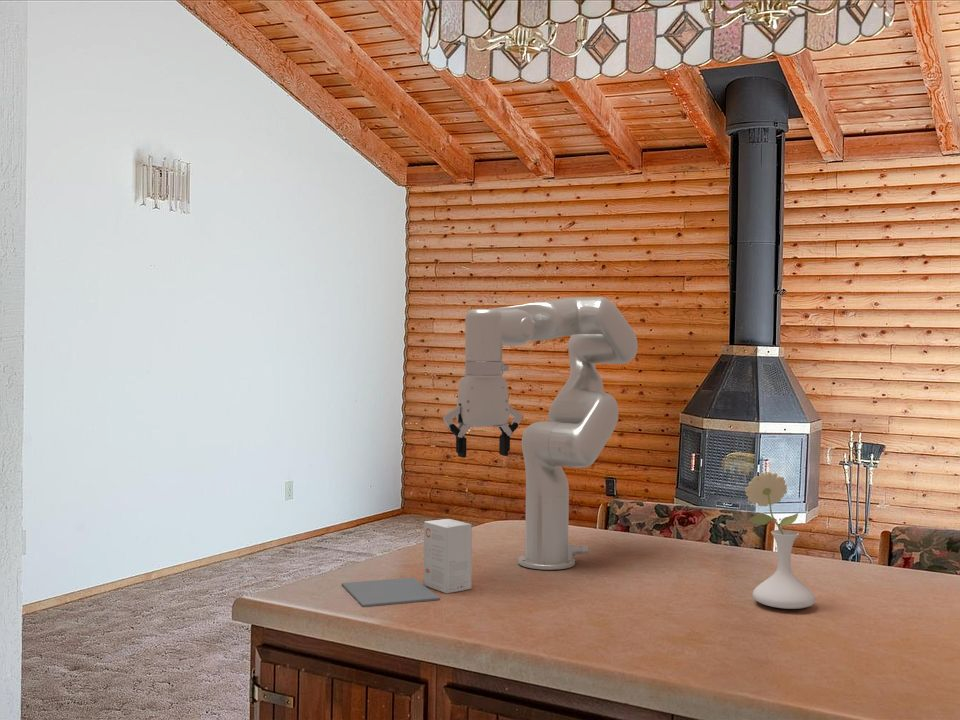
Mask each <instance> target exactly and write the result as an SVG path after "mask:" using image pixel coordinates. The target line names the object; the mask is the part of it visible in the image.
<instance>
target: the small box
mask: <svg viewBox="0 0 960 720" xmlns="http://www.w3.org/2000/svg"><path fill="white" fill-rule="evenodd" d="M423 527H424V529H423V585H424V586H425V587H427V588H430V589H433V590H435V591H439V592H440V593H441V592H442V593H444V594H452V593H456V592H461V591H466V590H467V591H468V590H471V589H472V580H473V579H472V567H473V566H472V564H473V563H472V561H473V560H472V559H473V558H472V556H473V555H472V554H473V553H472V550H473V549H472V548H473V547H472V543H473V542H472V534H473V533H472V531H473V529H472V528H473V525H472V524H471V523H467V522H463V521H460V520H455V519H452V518H443V519H436V520H435V519H434V520H426V521H424V524H423Z"/></svg>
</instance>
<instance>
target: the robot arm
mask: <svg viewBox="0 0 960 720" xmlns="http://www.w3.org/2000/svg"><path fill="white" fill-rule="evenodd" d="M464 326H465V328H464V330H465V332H464V334H465V335H464V337H465V338H464V340H465V341H464V343H465V344H464V345H465V346H464V348H465V349H464V351H465V353H464V354H465V355H464V360H465V362H464V363H465V364H464V376H462V377H460V379H459V380H460V381H459V386H458V392H457V399H456V407H455V408H453V409H451V410H450V411H448V412H447V413H445V414H444V415H443V416H442V420H443V421H444V423H445V425H446V427H447V428H448V430H449V432H451V433H452V434H453V436H454V437H455V452H456V453H457V456H458V457H460V458H464V459H465V458H466V457H467V437H465V435H466V434H467V432H468V430H469V429H470V427H473V428H474V427H475V428H477V427H479V428H481V427H482V428H483V427H484V428H485V427H497V428H498V429H499V431H500V433H501V434H499V441H498V442H499V445H498V447H499V448H498V453H499V455H500V456H503V457H508V456H509V452H510V451H511V437H512V436H513V433H514V432H515V431H516V430H517V429H518V428H519V424H520V423H521V421H522V420H523V418H524V415H523V413H520V412H519V411H518V410H516V409H514V408H513V407H512V406H510V404H509V402H510V401H509V392H508V386H507V381H506V377H504V376H503V375H504V372H509V364H505V363H504V361H503V346H510V347H511V346H516V347H517V346H522V345H525V344H526V343H528V342H530V341H534V342H535V341H536V342H537V341H539V342H540V341H549V340H554V339H559V338H564V337H569V336H570V338H569V340H568V345H567V348H568V349H567V350H568V359H569V369H570V370H569V371H570V374H569V377H568V379H567V380H566V382H565V383H564V385H563V386H562V388H561V389H560V390H559V392H558V393H557V395H556V396H555V398H554V400H553V402H552V403H551V404H550V407H549V410H548V415H547V417H548V420H549V421H548V420H545V421H544V420H543V421H536V422H533V423H531V424H529V426H527V427H526V428H525V430H524V431H523V433H522V435H521V436H522V437H521V448H522V449H521V450H522V454H523V461H524V469H525V470H524V471H525V533H524V534H525V536H524V540H525V541H524V542H525V543H524V544H525V547H524V549H525V550H524V552H525V553H524V554H522V555H520V556H518V557H517V560H518V561H517V563H518V564H519V566H522V567H524V568H527V569H528V568H529V569H534V570H543V571H544V570H545V571H546V570H547V571H552V570H553V571H556V570H557V571H558V570H566V569H569V568H572V567H574V566H575V565H576V559H575V558H574V557H575V556H576V555H587V554H588V553H589V547H588V545H587V544H583V545H580V544H579V545H578V544H572V543H571V542H569V509H570V503H569V502H570V501H569V500H570V487H569V485H570V484H569V482H568V481H569V480H568V478H567V475H566V473H565V471H564V469H563V468H562V467H566V468H579V469H580V468H582V469H583V468H588V467H590V466H591V465H592V464H594V463H595V461H596V460H597V458H598V457H599V456H600V454H601V452H602V451H603V449H604V448H605V446H606V444H607V442H609V439H610V438H611V436H612V434H613V433H614V431H615V429H616V427H617V424H618V420H619V406H618V402H617V400H616V398H615V397H614V396H613V395H612V394H610V393H609V392H604V383H603V379H602V377H601V375H600V373H599V372H598V370H597V368H596V364H609V365H622V364H624V365H625V364H628V363H630V362H632V361H633V360H634V359H635V358H636V355H637V353H638V350H639V349H638V348H639V347H638V345H639V343H638V339H637V336H636V334H635V332H634V330H633V327H631V325H630V324H629V322H628V321H627V319H626V318H625V317H624V315H623V314H622V312H621V311H620V310H619V308H618V307H617V305H615V303H614V302H613V301H611V300H610V299H608V298H607V297H604V296H590V297H587V296H586V297H585V296H584V297H567V298H560V299H552V300H546V301H545V300H544V301H537V302H531V303H524V304H518V305H511V306H510V305H509V306H501V307H493V308H477V309H476V308H473V309H470V310H468V311H467V312H466V315H465V323H464ZM510 416H512V417H513V419H512V420H511V422H510V423H509V421H510ZM454 419H456V423H457V424H458V426H457V425H456V424H455V422H454V421H453V420H454Z"/></svg>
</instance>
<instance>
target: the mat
mask: <svg viewBox="0 0 960 720" xmlns="http://www.w3.org/2000/svg"><path fill="white" fill-rule="evenodd" d="M341 586H342V587H343V588H344V589H345V591H347V593H349V595H351V596H352V598H353V599H354V600H355V601H356V602H357V601H358V602H359V603H358V602H357V603H358V604H359V605H360V606H361V607H362V608H366V607H368V608H370V607H379V606H387V605H388V606H389V605H400V604H411V603H422V601H423V602H433V600H434V601H440V600H441V597H440V596H439V595H438V594H436V593H435V592H433V591H432V590H431V589H429V587H427V586H424V583H421V582H420V581H419V580H417V579H416V577H413V576H412V577H400V578H388V579H376V580H365V581H364V580H363V581H352V582H342V583H341Z"/></svg>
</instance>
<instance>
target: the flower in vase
mask: <svg viewBox="0 0 960 720" xmlns="http://www.w3.org/2000/svg"><path fill="white" fill-rule="evenodd" d="M750 480H751V481H749V482H748V483H747V484H748V486H746V487H745V488H744V492H745V496H746V497H747V501H748V502H750V503H751V504H757V506H759V507H768V506H769V512H770V515H769V514H767V513H758V514H756V515H754V516H752V517H751V518H750V520H749V521H748V523H753V524H756V525H760V526H762V525H763V526H764V525H767V524H768V523H769V522H771V521H772V520H773V521H774V524H775V525H776V527H777V528H778V529H774V530H771V531H770V533H771V534H772V536H773V538H774V540H775V544H776V547H777V557H778V558H777V567H776V570H775V572H774V573H773V574H772V575H770V577H768V578H766V579H765V580H764V581H762V582H761V583H760V584H758V585H756V587H755V588H754V589H753V591H752V597H753V599H754V600H755V601H757V602H759V604H762V605H765V606H769V607H772V608H778V609H785V610H786V609H787V610H796V609H804V608H809V607H811V606H813V605H815V603H816V601H817V597H816V595H815V594H814V592H813V591H812V590H811V589H810V588H809V587H808V586H807V585H806V584H805V583H803V582H802V581H801V580H800V579H799V578H798V577H797V576H796V575H795V574H794V572H793V570H792V565H791V564H792V562H791V560H792V559H791V558H792V549H793V546H794V543H795V540H796V538H797V537H798V536H799V532H798V531H794V530H787V529H782V528H781V527H783V526H789V525H791V524H793V523H794V522H796V520H797V519H798V517H799V512H797V513H795V514H793V515H790V516H786V517H783V518H782V519H781V520H780V522H779V523H778V521H777V520H776V519H775V517H774V515H773V511H772V506H773V505H774V504H775V503H776V504H777V503H780V502H781V501H782V499H783V498H784V497H785V495H786V494H787V493H788V489H787V484H786V480H785V478H784V477H783V476H778V474H777V473H776V472H775V473H772V472H770V471H769V472H767V473H764V472H760V473H759V476H758V475H755V476H753V478H751V479H750Z"/></svg>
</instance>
